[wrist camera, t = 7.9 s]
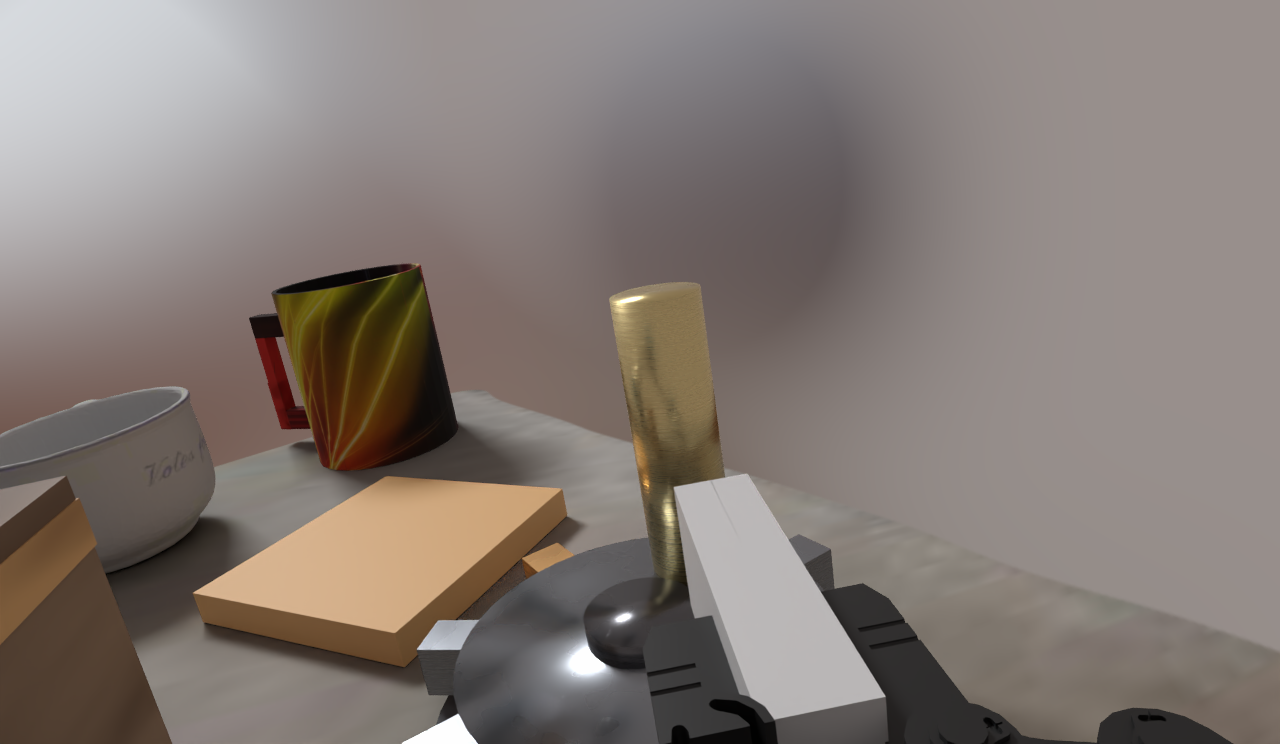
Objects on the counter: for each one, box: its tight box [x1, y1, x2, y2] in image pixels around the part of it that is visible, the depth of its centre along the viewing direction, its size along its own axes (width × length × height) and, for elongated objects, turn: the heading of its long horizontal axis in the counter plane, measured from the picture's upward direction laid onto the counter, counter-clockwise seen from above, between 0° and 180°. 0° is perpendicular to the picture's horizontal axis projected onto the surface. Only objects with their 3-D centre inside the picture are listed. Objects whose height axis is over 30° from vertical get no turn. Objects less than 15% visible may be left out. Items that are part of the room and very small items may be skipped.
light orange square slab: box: [193, 476, 567, 667], centre depth 36 cm, size 12×12×2 cm
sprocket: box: [402, 282, 834, 744], centre depth 23 cm, size 15×15×12 cm
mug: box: [249, 263, 458, 471], centre depth 53 cm, size 10×14×12 cm
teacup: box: [0, 387, 215, 574], centre depth 43 cm, size 14×11×8 cm
